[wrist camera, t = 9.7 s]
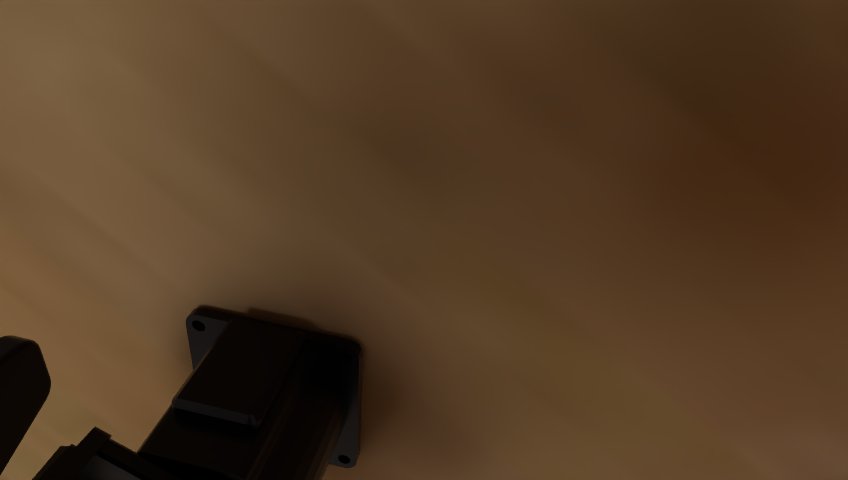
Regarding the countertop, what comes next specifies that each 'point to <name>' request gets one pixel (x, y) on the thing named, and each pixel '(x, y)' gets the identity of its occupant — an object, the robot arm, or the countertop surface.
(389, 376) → the countertop surface
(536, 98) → the countertop surface
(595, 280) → the countertop surface
